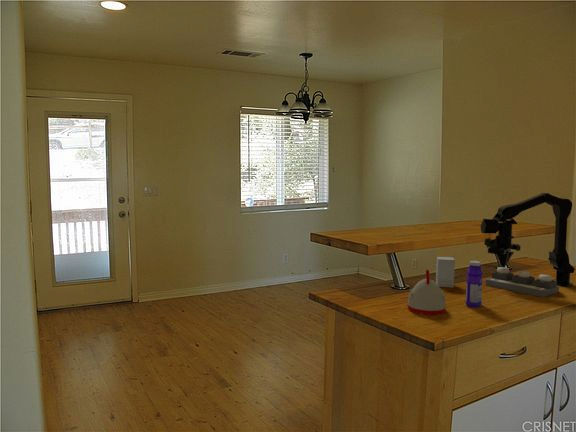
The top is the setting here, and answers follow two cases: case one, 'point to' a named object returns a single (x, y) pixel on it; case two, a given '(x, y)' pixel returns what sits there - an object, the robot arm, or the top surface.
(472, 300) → the bottle
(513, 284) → the button board
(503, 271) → the button
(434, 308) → the grey dome
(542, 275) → the button end
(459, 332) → the top surface
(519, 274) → the button mid
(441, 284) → the supplement box
